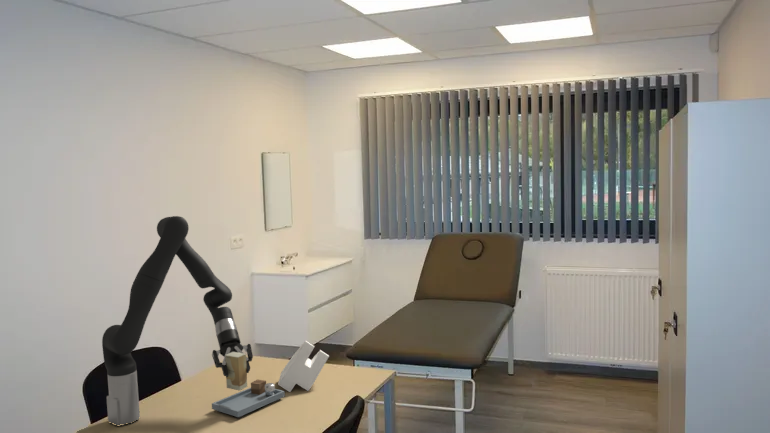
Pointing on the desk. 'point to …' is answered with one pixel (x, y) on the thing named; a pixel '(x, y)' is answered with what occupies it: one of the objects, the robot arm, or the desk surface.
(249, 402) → the blue-grey serving tray
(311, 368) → the slotted wedge
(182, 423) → the desk surface
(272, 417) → the desk surface
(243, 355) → the skincare box
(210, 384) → the desk surface
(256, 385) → the walnut block
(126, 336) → the robot arm
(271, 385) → the chrome dome knob
